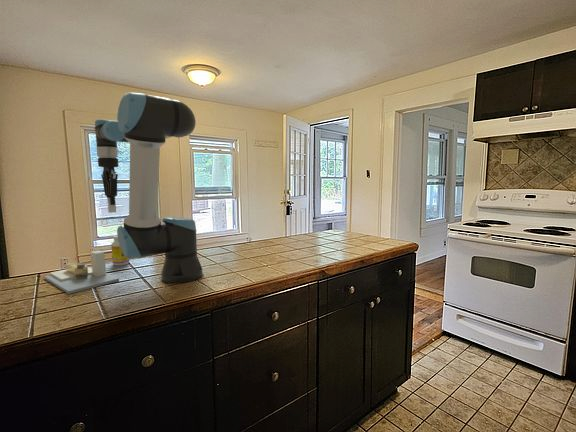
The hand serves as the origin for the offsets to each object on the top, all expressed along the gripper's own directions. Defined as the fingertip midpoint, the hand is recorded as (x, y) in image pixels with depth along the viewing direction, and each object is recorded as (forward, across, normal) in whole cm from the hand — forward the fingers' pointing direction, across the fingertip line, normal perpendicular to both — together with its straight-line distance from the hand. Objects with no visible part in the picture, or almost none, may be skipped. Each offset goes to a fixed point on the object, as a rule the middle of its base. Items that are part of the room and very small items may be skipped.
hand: (112, 212), depth 131 cm
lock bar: (+21, -9, +17) cm, 29 cm away
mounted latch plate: (+24, -12, +17) cm, 31 cm away
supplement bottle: (+24, -1, -2) cm, 24 cm away
